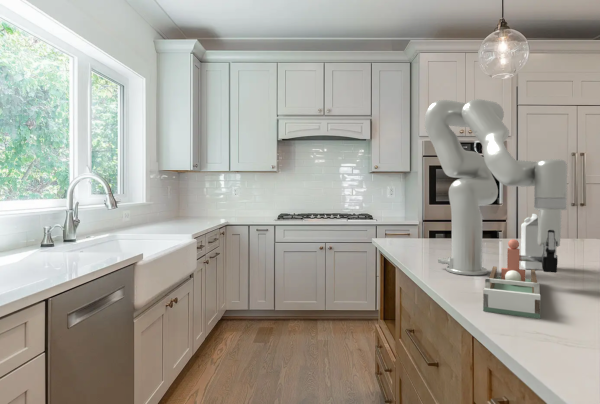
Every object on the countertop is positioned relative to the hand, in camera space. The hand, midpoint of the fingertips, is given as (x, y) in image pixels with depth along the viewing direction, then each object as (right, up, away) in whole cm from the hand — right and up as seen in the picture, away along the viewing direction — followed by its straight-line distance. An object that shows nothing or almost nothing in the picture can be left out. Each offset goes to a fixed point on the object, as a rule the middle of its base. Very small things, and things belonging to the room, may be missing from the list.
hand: (549, 270), depth 107 cm
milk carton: (+13, -5, +29) cm, 32 cm away
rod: (-4, -4, +3) cm, 6 cm away
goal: (-21, -5, -19) cm, 29 cm away
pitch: (-14, -6, -6) cm, 16 cm away
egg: (-10, -2, +1) cm, 10 cm away
